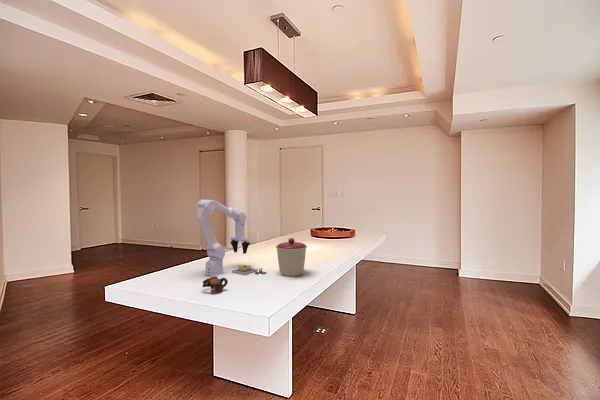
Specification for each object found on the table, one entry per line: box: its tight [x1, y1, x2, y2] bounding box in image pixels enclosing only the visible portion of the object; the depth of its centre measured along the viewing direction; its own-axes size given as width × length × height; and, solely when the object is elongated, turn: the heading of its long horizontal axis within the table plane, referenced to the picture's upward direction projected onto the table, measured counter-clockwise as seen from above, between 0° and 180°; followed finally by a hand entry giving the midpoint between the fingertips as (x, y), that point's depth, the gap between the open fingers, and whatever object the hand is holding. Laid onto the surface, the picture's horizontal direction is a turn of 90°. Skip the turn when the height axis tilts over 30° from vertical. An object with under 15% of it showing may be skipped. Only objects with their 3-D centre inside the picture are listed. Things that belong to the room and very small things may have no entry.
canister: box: [275, 237, 308, 277], centre depth 187 cm, size 18×18×21 cm
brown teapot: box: [202, 275, 229, 296], centre depth 159 cm, size 12×10×8 cm
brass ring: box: [237, 264, 252, 273], centre depth 191 cm, size 6×5×3 cm
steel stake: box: [253, 267, 268, 276], centre depth 189 cm, size 7×7×3 cm
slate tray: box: [231, 267, 259, 276], centre depth 191 cm, size 11×11×2 cm
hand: (240, 252), depth 203 cm, fingers open, 7 cm apart
